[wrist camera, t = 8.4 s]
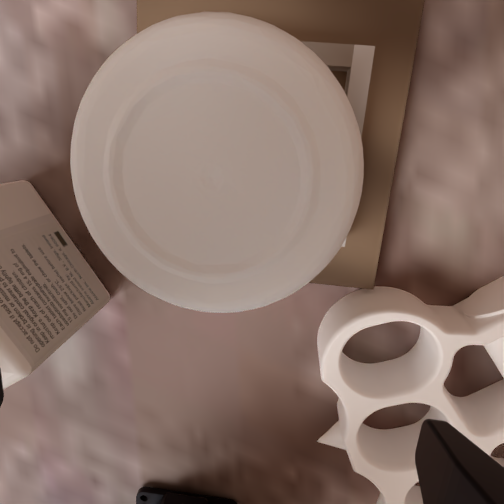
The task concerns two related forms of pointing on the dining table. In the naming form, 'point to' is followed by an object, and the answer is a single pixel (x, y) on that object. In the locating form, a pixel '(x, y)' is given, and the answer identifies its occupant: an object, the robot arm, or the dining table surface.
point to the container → (39, 283)
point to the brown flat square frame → (354, 85)
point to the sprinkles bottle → (217, 162)
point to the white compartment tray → (410, 380)
